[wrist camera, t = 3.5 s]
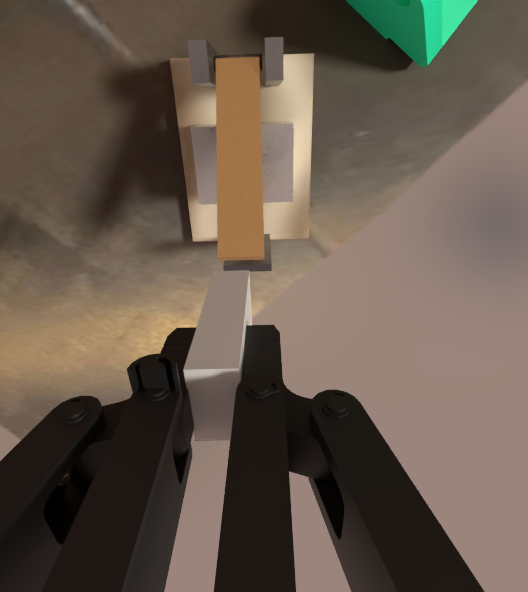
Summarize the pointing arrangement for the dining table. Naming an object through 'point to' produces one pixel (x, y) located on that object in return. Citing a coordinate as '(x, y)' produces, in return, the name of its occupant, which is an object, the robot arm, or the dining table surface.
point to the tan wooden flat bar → (239, 157)
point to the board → (274, 107)
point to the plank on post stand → (273, 138)
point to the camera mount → (415, 23)
